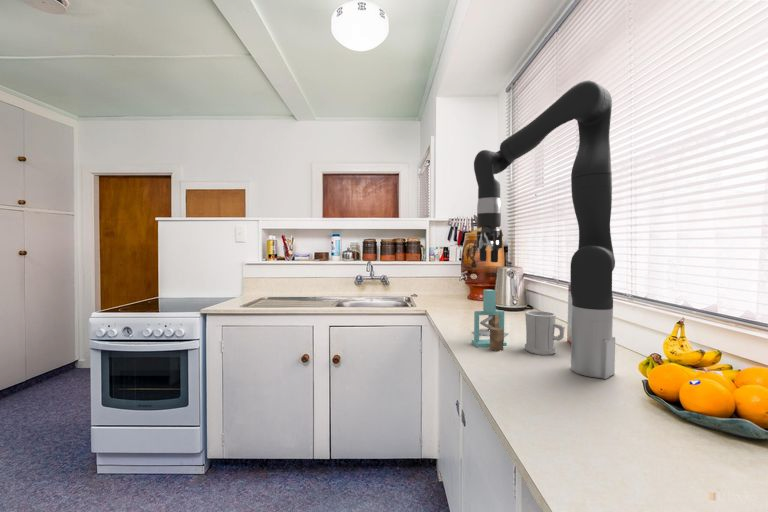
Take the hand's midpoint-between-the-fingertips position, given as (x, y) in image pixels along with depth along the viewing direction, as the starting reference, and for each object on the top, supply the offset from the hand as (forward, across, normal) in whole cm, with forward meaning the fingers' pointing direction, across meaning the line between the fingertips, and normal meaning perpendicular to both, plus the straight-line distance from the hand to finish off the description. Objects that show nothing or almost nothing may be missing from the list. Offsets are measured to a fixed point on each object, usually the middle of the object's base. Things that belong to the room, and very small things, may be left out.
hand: (488, 261), depth 117 cm
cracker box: (+28, -6, -30) cm, 42 cm away
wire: (+22, +6, -6) cm, 24 cm away
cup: (+28, -9, -14) cm, 33 cm away
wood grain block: (+28, +6, -6) cm, 29 cm away
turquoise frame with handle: (+28, 0, -1) cm, 28 cm away
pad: (+28, +14, -7) cm, 32 cm away
